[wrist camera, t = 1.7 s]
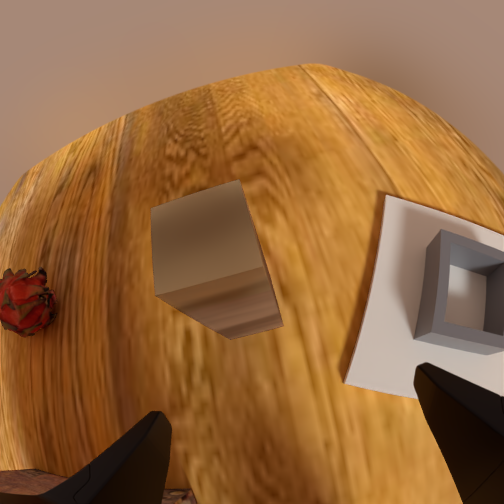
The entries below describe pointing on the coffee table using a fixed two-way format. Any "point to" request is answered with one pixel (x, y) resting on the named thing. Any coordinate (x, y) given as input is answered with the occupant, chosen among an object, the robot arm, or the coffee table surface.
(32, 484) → the book
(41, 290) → the dragon fruit
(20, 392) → the coffee table surface
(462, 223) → the plate
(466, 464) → the robot arm
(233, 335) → the walnut post
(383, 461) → the coffee table surface
